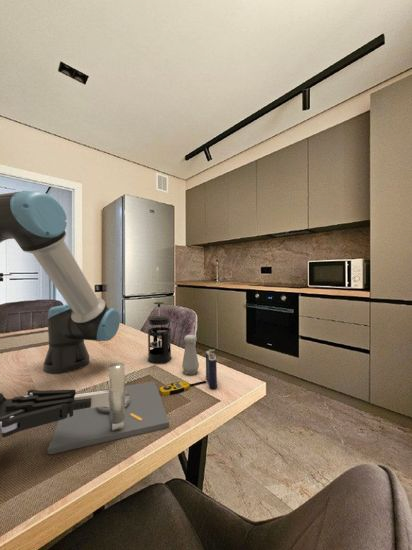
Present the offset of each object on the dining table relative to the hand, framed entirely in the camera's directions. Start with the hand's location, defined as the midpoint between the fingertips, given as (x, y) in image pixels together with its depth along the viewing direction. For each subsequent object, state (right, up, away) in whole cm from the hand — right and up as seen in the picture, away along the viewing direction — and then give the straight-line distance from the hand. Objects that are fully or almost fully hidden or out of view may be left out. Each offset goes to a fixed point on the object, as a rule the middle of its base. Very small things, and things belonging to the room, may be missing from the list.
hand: (108, 397), depth 52 cm
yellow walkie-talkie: (+14, -9, +23) cm, 28 cm away
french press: (+2, -8, +46) cm, 47 cm away
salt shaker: (+15, -8, +34) cm, 38 cm away
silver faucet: (-1, -7, +8) cm, 11 cm away
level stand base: (-3, -9, +11) cm, 14 cm away
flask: (+23, -8, +26) cm, 35 cm away
